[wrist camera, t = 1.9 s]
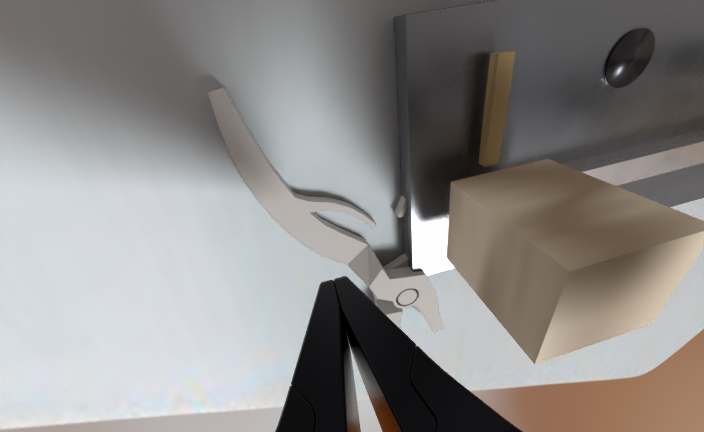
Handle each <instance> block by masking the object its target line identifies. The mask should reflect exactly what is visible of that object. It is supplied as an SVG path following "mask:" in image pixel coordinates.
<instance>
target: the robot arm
mask: <svg viewBox="0 0 704 432" xmlns="http://www.w3.org/2000/svg"><path fill="white" fill-rule="evenodd" d="M349 344H350V346H349ZM350 348H351V350H352V353H353V356H354V359H355V361H356V364H357V366H358V369H359V372H360V374H361V377H362V379H363V382H364V385H365V387H366V390H367V392H368V395H369V398H370V400H371V403H372V405H373V408H374V410H375V413H376V416H377V418H378V421H379V424H380V426H381V428H382V431H383V432H523V431H521V430H519V429H518V428H517V427H515V426H514V425H513V424H511V423H510V422H509V421H507V420H506V419H505V418H503V417H502V416H501V415H499V414H498V413H497V412H496V411H494V410H493V409H492V408H490V407H489V406H488V405H487V404H485V403H484V402H483V401H482V400H480V399H479V398H478V397H476V396H475V395H474V394H473V393H471V392H470V391H469V390H467V389H466V388H465V387H464V386H462V385H461V384H460V383H459V382H457V381H456V380H455V379H454V378H453V377H451V376H450V375H449V374H448V373H446V372H445V371H444V370H443V369H442V368H441V367H440V366H438V365H437V364H436V363H435V362H434V361H433V360H432V359H431V358H430V357H429V356H428V355H427V354H426V353H425V352H423V351H422V350H421V349H420V348H419V347H418V346H416V344H415V343H414V342H413V341H412V340H411V339H410V338H409V337H408V336H407V335H406V334H405V333H404V332H403V331H402V330H401V329H400V328H399V327H398V326H397V325H396V324H395V323H394V322H393V321H392V320H391V319H390V318H389V317H387V316H386V315H385V314H384V313H383V312H382V311H381V310H380V309H379V308H378V307H377V306H376V305H375V304H374V303H373V302H372V301H371V300H370V299H369V298H368V297H367V296H366V295H365V294H364V293H363V292H362V291H361V290H360V289H359V288H358V287H357V286H356V285H355V284H354V283H353V282H352V281H351V280H350V279H349V278H348V277H346V276H344V277H340V278H336V279H334V281H333V280H329V281H325V282H322V283H321V284H320V286H319V290H318V293H317V297H316V300H315V303H314V307H313V310H312V314H311V317H310V320H309V324H308V327H307V331H306V334H305V337H304V341H303V344H302V348H301V351H300V354H299V358H298V361H297V365H296V368H295V371H294V375H293V378H292V382H291V385H292V386H290V388H289V391H288V395H287V398H286V402H285V405H284V408H283V411H282V414H281V417H280V420H279V423H278V426H277V429H276V431H275V432H361V430H360V422H359V414H358V407H357V398H356V390H355V383H354V375H353V367H352V359H351V352H350Z"/></svg>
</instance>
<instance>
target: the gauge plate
mask: <svg viewBox="0 0 704 432" xmlns="http://www.w3.org/2000/svg"><path fill="white" fill-rule="evenodd" d="M394 29H395V51H396V72H397V94H398V116H399V138H400V159H401V181H402V196H403V197H404V198H405V199H406V212H405V214H404V216H403V225H404V246H405V255H406V256H407V258H408V267H410V268H411V270H412V271H413V272H417V271H424V272H425V274H426V275H427V276H428V275H432V274H435V273H439V272H442V271H446V270H449V269H453V268H455V267H454V266H453V265H452V263H451V262H450V261H449V260H448V259H447V241H448V223H449V206H450V188H451V182H452V181H457V180H461V179H465V178H469V177H473V176H477V175H482V174H486V173H490V172H494V171H498V170H502V169H507V168H511V167H515V166H519V165H523V164H527V163H532V162H536V161H540V160H544V159H550V160H553V161H555V162H558V163H560V164H563V165H565V166H568V167H570V168H573V169H575V170H578V171H580V172H582V173H585V174H587V175H590V176H592V177H595V178H597V179H600V180H602V181H605V182H607V183H610V184H612V185H615V186H617V187H620V188H622V189H625V190H627V191H630V192H632V193H635V194H637V195H640V196H642V197H645V198H647V199H650V200H652V201H655V202H657V203H660V204H662V205H665V206H667V207H672V206H676V205H679V204H683V203H686V202H690V201H693V200H697V199H701V198H704V0H496V1H490V2H484V3H477V4H471V5H464V6H458V7H451V8H445V9H438V10H432V11H425V12H419V13H413V14H406V15H402V16H398V17H394ZM503 51H516V53H515V60H514V67H513V73H512V80H511V86H510V93H509V100H508V106H507V113H506V120H505V126H504V133H503V139H502V146H501V153H500V159H499V164H495V165H491V166H487V167H484V166H482V165H480V164H479V154H480V145H481V136H482V127H483V118H484V109H485V100H486V90H487V81H488V72H489V63H490V54H491V53H497V52H503Z"/></svg>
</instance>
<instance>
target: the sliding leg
mask: <svg viewBox="0 0 704 432" xmlns="http://www.w3.org/2000/svg"><path fill="white" fill-rule="evenodd" d="M515 53H516V51H503V52H497V53H491V54H490V63H489V72H488V81H487V90H486V100H485V109H484V118H483V127H482V136H481V145H480V154H479V164H480V165H482V166H484V167H487V166H491V165H495V164H499V159H500V153H501V146H502V139H503V133H504V126H505V120H506V113H507V106H508V100H509V93H510V86H511V80H512V73H513V67H514V60H515ZM703 248H704V221H702V220H699V219H697V218H694V217H692V216H689V215H687V214H684V213H682V212H679V211H677V210H674V209H672V208H669V207H667V206H665V205H662V204H660V203H657V202H655V201H652V200H650V199H647V198H645V197H642V196H640V195H637V194H635V193H632V192H630V191H627V190H625V189H622V188H620V187H617V186H615V185H612V184H610V183H607V182H605V181H602V180H600V179H597V178H595V177H592V176H590V175H587V174H585V173H582V172H580V171H578V170H575V169H573V168H570V167H568V166H565V165H563V164H560V163H558V162H555V161H553V160H550V159H544V160H540V161H536V162H532V163H527V164H523V165H519V166H515V167H511V168H507V169H502V170H498V171H494V172H490V173H486V174H482V175H477V176H473V177H469V178H465V179H461V180H457V181H452V182H451V188H450V206H449V223H448V241H447V259H448V260H449V261H450V262H451V263H452V265H453V266H454V267H455V268H456V270H457V271H458V272H459V273H460V274H461V276H462V277H463V278H464V279H465V280H466V282H467V283H468V284H469V285H470V286H471V288H472V289H473V290H474V291H475V293H476V294H477V295H478V296H479V297H480V299H481V300H482V301H483V302H484V303H485V305H486V306H487V307H488V308H489V309H490V311H491V312H492V313H493V314H494V315H495V317H496V318H497V319H498V320H499V322H500V323H501V324H502V325H503V326H504V328H505V329H506V330H507V331H508V332H509V334H510V335H511V336H512V337H513V338H514V340H515V341H516V342H517V343H518V345H519V346H520V347H521V348H522V349H523V351H524V352H525V353H526V354H527V355H528V357H529V358H530V359H531V360H532V361H533V363H534V364H537V363H540V362H543V361H546V360H549V359H552V358H554V357H557V356H560V355H563V354H566V353H569V352H572V351H575V350H578V349H581V348H584V347H587V346H589V345H592V344H595V343H598V342H601V341H604V340H607V339H610V338H613V337H616V336H619V335H622V334H624V333H627V332H630V331H633V330H636V329H639V328H642V327H645V326H648V325H651V324H652V323H653V321H654V320H655V318H656V317H657V316H658V314H659V313H660V311H661V310H662V308H663V307H664V305H665V304H666V302H667V301H668V299H669V298H670V296H671V295H672V293H673V292H674V290H675V289H676V287H677V286H678V285H679V283H680V282H681V280H682V279H683V277H684V276H685V274H686V273H687V271H688V270H689V268H690V267H691V265H692V264H693V262H694V261H695V259H696V258H697V256H698V255H699V254H700V252H701V251H702V249H703Z"/></svg>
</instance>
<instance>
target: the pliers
mask: <svg viewBox="0 0 704 432" xmlns="http://www.w3.org/2000/svg"><path fill="white" fill-rule="evenodd" d="M208 96H209V99H210V102H211V106H212V109H213V112H214V115H215V118H216V121H217V124H218V127H219V129H220V132H221V134H222V137H223V139H224V142H225V145H226V147H227V150H228V152H229V154H230V156H231V158H232V160H233V162H234V164H235V165H236V167H237V169H238V171H239V173H240V175H241V176H242V178H243V180H244V181H245V183H246V184H247V186H248V187H249V189H250V190H251V192H252V193H253V195H254V196H255V198H256V199H257V200H258V202H259V203H260V204H261V205H262V206H263V207H264V209H265V210H266V211H267V212H268V213H269V214H270V215H271V217H272V218H273V219H274V220H275V221H276V222H277V223H278V224H279V225H280V226H281V227H282V228H283V229H284V230H285V231H286V232H287V233H289V234H290V235H291V236H292V237H294V238H295V239H296V240H297V241H299V242H300V243H301V244H302V245H304V246H305V247H307V248H309V249H310V250H312V251H314V252H315V253H317V254H319V255H321V256H322V257H325V258H328V259H332V260H335V261H338V262H341V263H344V264H347V265H348V266H349V267H350V268H351V269H352V270H353V271H354V272H355V273H356V274H357V275H358V276H359V277H360V278H361V279H362V280H363V281H364V282H365V283H366V284H367V285H368V286H369V288H370V289H371V290H372V292H373V297H374V302H375V305H376V306H377V307H378V308H379V309H380V310H381V311H382V312H383V313H384V314H385V315H386V316H387V317H389V318H390V319H391V320H392V321H393V322H394V323H395V324H396V325H397V326H398V327H399V328H400V325H401V318H402V312H403V311H402V309H403V308H408V307H411V306H415V307H417V308H418V310H419V311H420V313H421V314H422V316H423V317H424V319H425V320H426V322H427V323H428V325H429V326H430V328H431V329H432V331H433V332H434V333H436V332H437V331H439V330H441V329H443V324H442V319H441V314H440V310H439V305H438V300H437V295H436V291H435V289H434V288H433V286H432V284H431V282H430V281H429V279H428V277H427V275H426V274H425V272H424V271H417V272H413V271H412V270H411V268H410V267H408V258H407V256H406V255H405V253H404V254H402V255H401V256H399V257H398V258H396V259H395V260H393V261H391V262H390V263H388V264H387V265H385V266H382V264H381V262H380V261H379V259H378V257H377V256H376V254H375V253H374V251H373V250H372V248H371V247H370V245H369V244H368V242H367V241H366V240H365V239H364V238H362V237H360V236H357V235H355V234H353V233H350V232H348V231H346V230H343V229H341V228H339V227H337V226H335V225H333V224H331V223H329V222H327V221H325V220H323V219H322V218H320V217H319V216H318V215H317V214H316V213H314V212H319V211H326V210H332V211H338V212H343V213H348V214H350V215H352V216H354V217H356V218H358V219H360V220H361V221H363V222H364V223H366V224H367V225H368V226H370V227H371V228H373V227H374V226H376V223H375V221H374V220H373V219H372V218H371V217H370V216H368V215H367V214H366V213H364V212H363V211H362V210H360V209H358V208H357V207H355V206H353V205H351V204H350V203H348V202H344V201H341V200H337V199H333V198H329V197H310V196H305V195H301V194H298V193H294V192H293V191H292V189H291V188H290V187H289V186H288V185H287V183H286V182H285V181H284V180H283V178H282V177H281V176H280V175H279V173H278V172H277V171H276V170H275V168H274V167H273V166H272V164H271V163H270V162H269V160H268V159H267V157H266V156H265V154H264V153H263V151H262V150H261V148H260V146H259V145H258V143H257V142H256V140H255V138H254V137H253V135H252V134H251V132H250V130H249V129H248V127H247V125H246V124H245V122H244V121H243V119H242V117H241V116H240V114H239V112H238V110H237V108H236V107H235V105H234V103H233V101H232V99H231V97H230V96H229V94H228V92H227V90H226V88H225V87H223V88H219V89H216V90H213V91H210V92H208ZM405 212H406V199H405V198H404V197H403V196H402V195H401V197H400V199H399V202H398V204H397V207H396V209H395V212H394V213H395V214H396V215H397V217H402V218H403V216H404V214H405Z"/></svg>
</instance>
